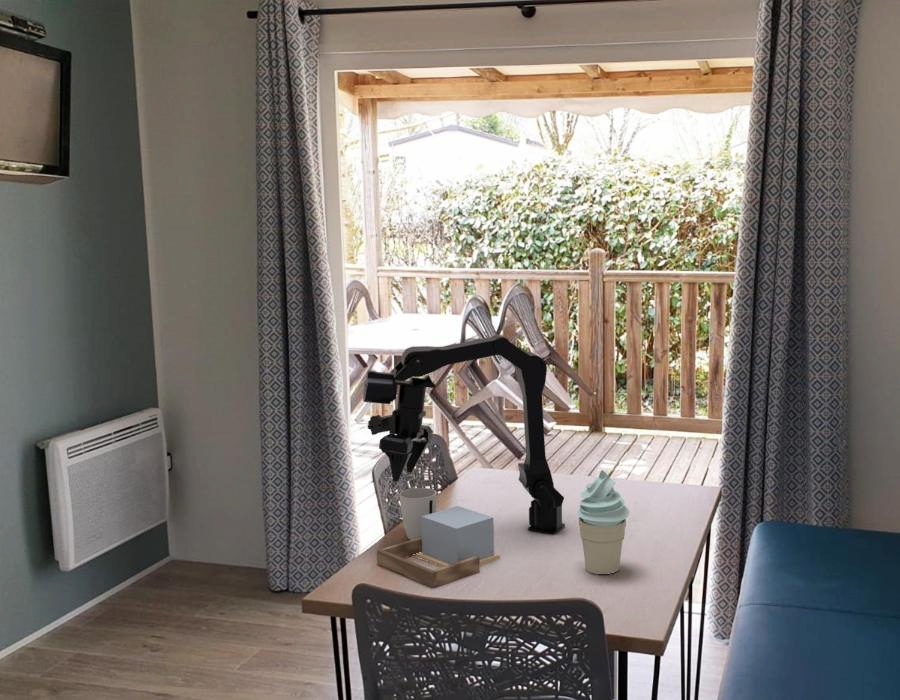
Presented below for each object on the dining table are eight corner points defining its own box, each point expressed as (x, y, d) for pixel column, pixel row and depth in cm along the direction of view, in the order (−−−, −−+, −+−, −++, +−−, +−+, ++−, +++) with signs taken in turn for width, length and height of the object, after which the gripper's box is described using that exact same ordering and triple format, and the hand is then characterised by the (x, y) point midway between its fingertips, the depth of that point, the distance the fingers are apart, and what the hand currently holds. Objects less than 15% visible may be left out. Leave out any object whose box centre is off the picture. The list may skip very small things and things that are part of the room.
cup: (433, 544, 215) (432, 499, 213) (396, 542, 216) (395, 497, 215) (441, 531, 222) (440, 488, 221) (405, 530, 224) (404, 487, 223)
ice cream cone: (581, 580, 192) (581, 479, 189) (574, 559, 203) (574, 464, 200) (634, 579, 192) (634, 478, 189) (623, 558, 203) (624, 463, 200)
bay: (423, 549, 211) (423, 536, 211) (479, 571, 198) (479, 557, 198) (377, 564, 203) (376, 550, 203) (432, 588, 190) (432, 573, 190)
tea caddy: (459, 544, 214) (459, 504, 213) (500, 559, 205) (499, 517, 204) (416, 558, 207) (415, 516, 205) (456, 574, 197) (455, 530, 196)
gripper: (389, 394, 225) (382, 461, 227) (359, 406, 207) (352, 479, 209) (436, 402, 222) (429, 470, 224) (410, 414, 204) (402, 488, 206)
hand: (402, 476), depth 216 cm, fingers open, 9 cm apart
